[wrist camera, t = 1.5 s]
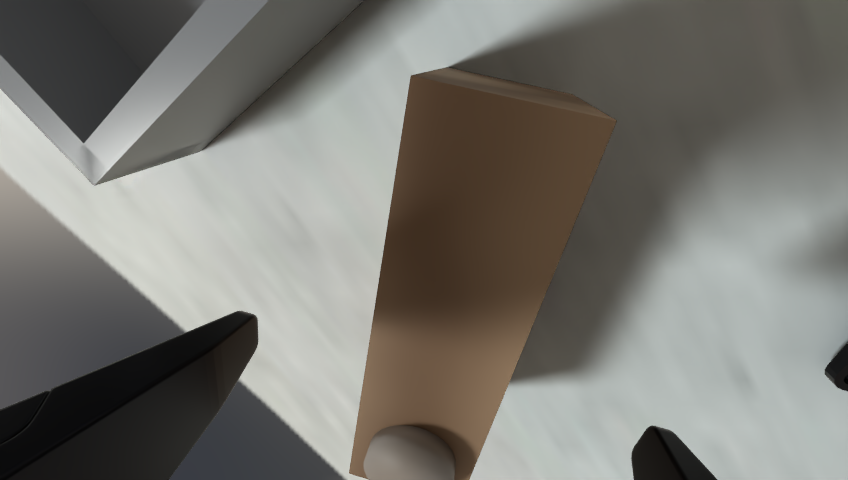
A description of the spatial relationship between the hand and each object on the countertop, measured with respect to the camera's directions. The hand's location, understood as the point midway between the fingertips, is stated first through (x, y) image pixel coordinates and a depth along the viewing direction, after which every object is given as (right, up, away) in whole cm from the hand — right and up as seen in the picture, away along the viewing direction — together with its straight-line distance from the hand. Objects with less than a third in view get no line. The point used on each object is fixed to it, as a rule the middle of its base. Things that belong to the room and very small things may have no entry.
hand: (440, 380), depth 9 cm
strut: (+1, +3, +5) cm, 6 cm away
